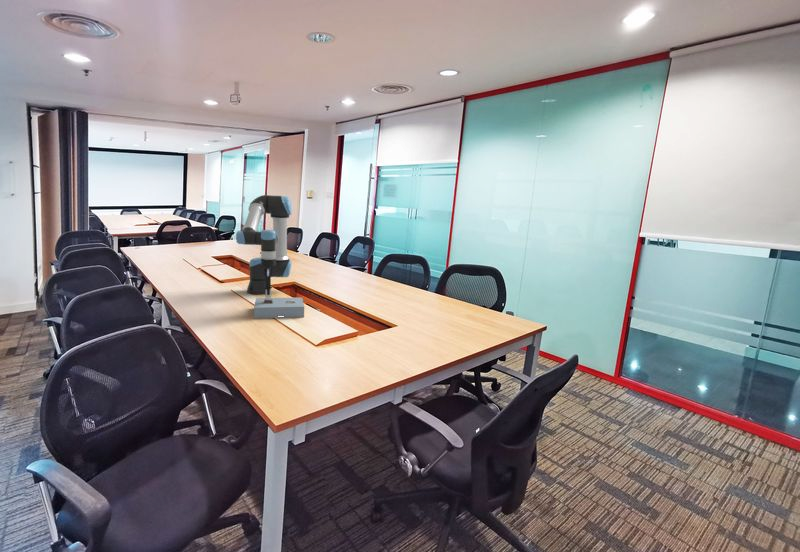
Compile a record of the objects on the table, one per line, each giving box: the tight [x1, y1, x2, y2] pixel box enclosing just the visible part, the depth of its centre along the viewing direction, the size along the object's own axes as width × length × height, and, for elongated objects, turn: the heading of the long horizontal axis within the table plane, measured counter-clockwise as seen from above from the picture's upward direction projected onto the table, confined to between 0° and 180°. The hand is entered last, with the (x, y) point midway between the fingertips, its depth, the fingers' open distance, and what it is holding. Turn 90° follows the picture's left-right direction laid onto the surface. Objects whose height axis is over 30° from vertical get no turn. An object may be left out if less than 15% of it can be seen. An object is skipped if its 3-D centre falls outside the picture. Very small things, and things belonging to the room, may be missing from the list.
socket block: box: [253, 296, 305, 319], centre depth 224 cm, size 20×26×6 cm
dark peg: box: [264, 299, 272, 304], centre depth 222 cm, size 4×4×6 cm
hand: (268, 300), depth 222 cm, fingers closed
